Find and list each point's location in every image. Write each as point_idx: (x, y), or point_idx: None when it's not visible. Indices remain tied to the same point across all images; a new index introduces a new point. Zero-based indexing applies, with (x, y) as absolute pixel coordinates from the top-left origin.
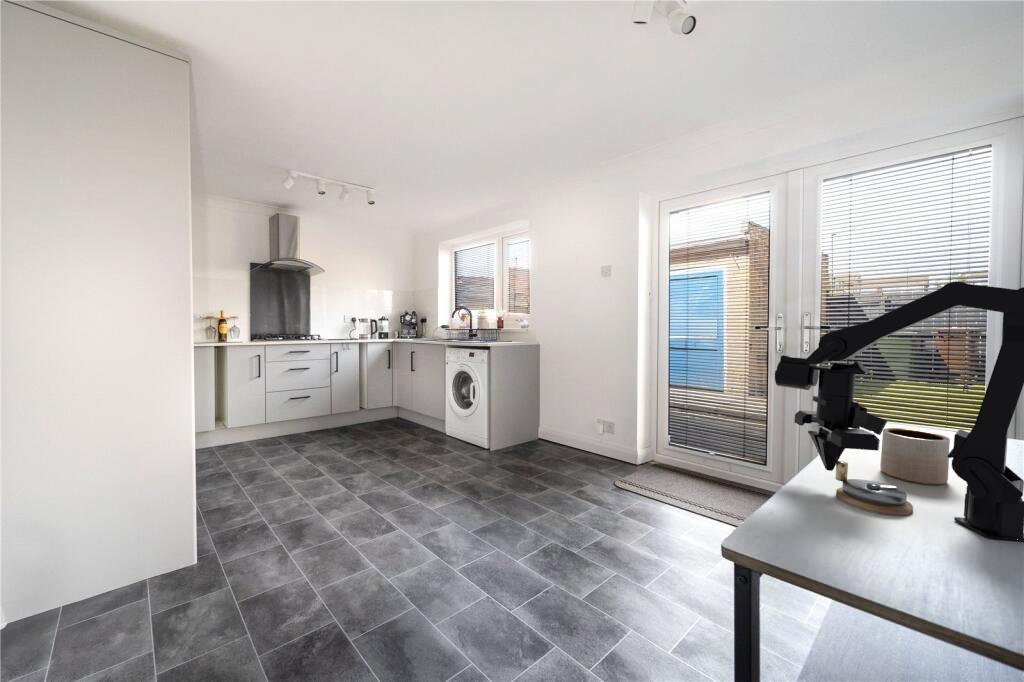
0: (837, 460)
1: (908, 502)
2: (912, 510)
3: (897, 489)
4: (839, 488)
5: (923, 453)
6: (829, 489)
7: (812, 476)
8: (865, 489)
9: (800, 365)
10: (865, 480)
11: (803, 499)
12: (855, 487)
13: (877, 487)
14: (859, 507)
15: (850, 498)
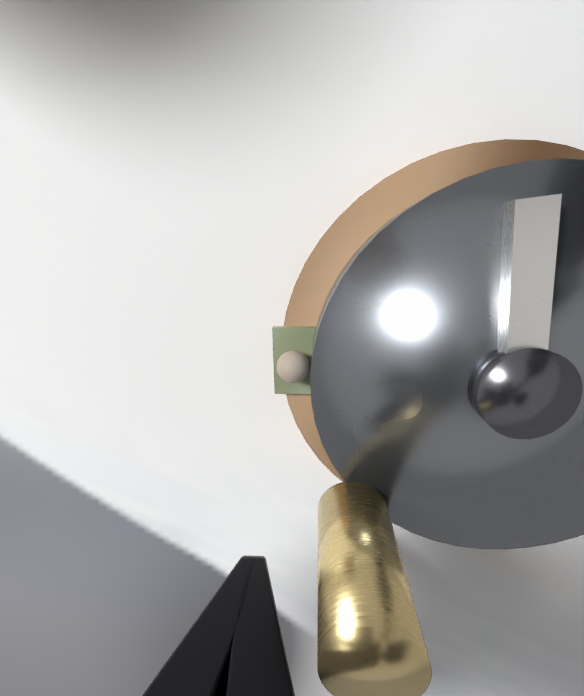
0: (285, 661)
1: (548, 151)
2: None
3: (541, 190)
4: (331, 465)
5: None
6: (288, 473)
7: (89, 456)
8: (547, 462)
9: None
10: (332, 341)
11: (451, 645)
12: (507, 506)
13: (579, 394)
14: None
15: None
